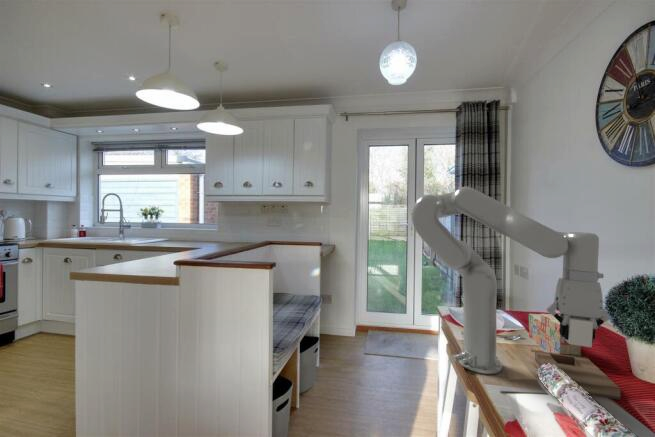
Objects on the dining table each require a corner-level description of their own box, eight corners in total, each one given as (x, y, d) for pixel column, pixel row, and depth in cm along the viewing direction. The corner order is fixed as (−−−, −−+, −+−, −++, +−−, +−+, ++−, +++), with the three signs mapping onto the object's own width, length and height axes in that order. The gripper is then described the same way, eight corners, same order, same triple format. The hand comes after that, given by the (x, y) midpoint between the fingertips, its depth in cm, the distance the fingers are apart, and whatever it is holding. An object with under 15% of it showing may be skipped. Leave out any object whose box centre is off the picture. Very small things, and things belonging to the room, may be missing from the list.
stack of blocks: (528, 336, 119) (528, 305, 119) (545, 337, 118) (545, 306, 118) (560, 362, 98) (560, 325, 98) (581, 364, 97) (581, 326, 97)
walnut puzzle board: (620, 399, 78) (620, 388, 78) (556, 389, 83) (556, 378, 83) (586, 366, 95) (586, 357, 95) (535, 359, 100) (535, 350, 99)
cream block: (591, 347, 81) (593, 322, 81) (569, 344, 83) (570, 319, 83) (583, 340, 86) (584, 316, 86) (562, 337, 88) (563, 313, 88)
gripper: (609, 276, 85) (606, 339, 85) (539, 270, 91) (537, 330, 91) (625, 281, 78) (622, 350, 78) (548, 275, 83) (545, 339, 84)
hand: (576, 338), depth 85 cm, fingers closed on cream block, 5 cm apart
